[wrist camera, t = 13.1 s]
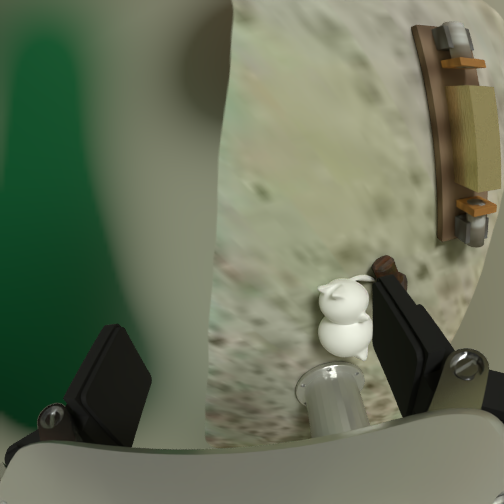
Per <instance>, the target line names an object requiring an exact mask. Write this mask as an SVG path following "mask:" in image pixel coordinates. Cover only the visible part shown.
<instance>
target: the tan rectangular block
mask: <svg viewBox="0 0 504 504" xmlns="http://www.w3.org/2000/svg"><path fill="white" fill-rule="evenodd" d="M444 87H445V93H446V99H447V106H448V112H449V120H450V128H451V138H452V149H453V163H454V182H456V183H458V184H460V185H462V186H465V187H467V188H469V189H471V190H473V191H475V192H478V193H479V192H484V191H490V190H496V189H501V153H500V136H499V124H498V114H497V106H496V99H495V92H494V87H487V86H472V85H464V86H444Z"/></svg>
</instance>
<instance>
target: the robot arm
mask: <svg viewBox="0 0 504 504" xmlns="http://www.w3.org/2000/svg"><path fill="white" fill-rule="evenodd" d="M372 291H373V333H372V342H373V347H374V350H375V352H376V354H377V357H378V359H379V361H380V364H381V366H382V368H383V371H384V373H385V375H386V378H387V380H388V383H389V385H390V387H391V390H392V392H393V395H394V397H395V400H396V402H397V405H398V407H399V410H400V412H401V415H402V417H403V418H399V419H395V420H391V421H387V422H384V423H380V424H376V425H372V426H370V423H369V420H368V417H367V413H366V410H365V407H364V404H363V400H362V397H361V394H360V391H361V390H362V388H363V386H364V382H365V380H364V375H363V372H362V371H361V369H360V368H359V367H357V366H356V365H354V364H352V363H348V362H331V363H326V364H323V365H320V366H317V367H315V368H313V369H311V370H310V371H308V372H307V373H306V374H304V375H303V376H302V377H301V379H300V380H299V381H298V383H297V386H296V395H297V399H298V400H299V402H300V403H301V404H303V405H304V406H306V407H307V411H308V418H309V424H310V431H311V439H305V440H299V441H292V442H285V443H277V444H269V445H260V446H249V447H237V448H220V449H149V448H132V444H133V441H134V438H135V434H136V431H137V428H138V424H139V421H140V418H141V414H142V411H143V408H144V405H145V402H146V398H147V395H148V392H149V389H150V386H151V381H152V379H151V375H150V373H149V371H148V370H147V368H146V366H145V364H144V363H143V361H142V359H141V357H140V356H139V354H138V352H137V350H136V349H135V347H134V345H133V343H132V341H131V339H130V338H129V335H128V334H127V332H126V330H125V328H123V327H121V326H120V325H119V324H112V325H105V326H104V327H103V329H102V330H101V332H100V334H99V335H98V337H97V339H96V340H95V342H94V344H93V345H92V347H91V349H90V351H89V352H88V354H87V356H86V358H85V359H84V361H83V363H82V365H81V366H80V368H79V370H78V372H77V374H76V375H75V377H74V379H73V381H72V383H71V385H70V387H69V388H68V390H67V392H66V394H65V396H64V398H63V399H64V400H65V401H66V403H67V405H66V407H65V406H64V405H63V404H60V403H55V404H51V405H49V406H47V407H46V408H45V409H44V410H43V411H42V412H41V413H40V415H39V417H38V420H37V421H38V422H37V425H38V429H37V430H36V431H34V432H33V433H31V434H29V435H27V436H26V437H24V438H22V439H21V440H19V441H18V442H16V443H14V444H13V445H11V446H10V447H9V448H8V449H7V452H6V454H5V464H4V463H3V462H2V463H1V464H0V504H504V373H500V372H497V371H492V370H489V363H488V361H487V359H486V357H485V356H484V355H483V354H482V353H480V352H479V351H477V350H474V349H469V348H463V349H458V350H456V351H455V350H454V349H453V347H452V346H451V344H450V343H449V341H448V340H447V339H446V337H445V336H444V334H443V333H442V331H441V330H440V329H439V327H438V326H437V324H436V323H435V322H434V320H433V319H432V318H431V316H430V315H429V313H428V312H427V311H426V309H425V308H424V307H423V306H422V305H420V304H418V305H416V304H415V302H414V301H413V300H412V298H411V297H410V296H409V294H408V293H407V292H406V290H405V289H404V288H403V286H402V285H401V284H400V282H399V281H398V280H397V278H396V277H395V276H394V275H393V274H391V275H386V276H382V277H378V278H377V282H374V283H373V285H372Z"/></svg>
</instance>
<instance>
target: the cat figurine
mask: <svg viewBox="0 0 504 504" xmlns="http://www.w3.org/2000/svg"><path fill="white" fill-rule="evenodd" d="M357 280H358V281H368V282H373V281H375V279H374V278H373V277H370V276H368V275H358V276H355V277H352V278H350V279H345V278H340V279H335V280H333V281H331V282H329V283H328V284H327V285H322V286H318V291H320V292H321V293H320V296H319V306H320V309H321V311H322V313H323V314H324V315H325V316H324V318H323V319H322V320H321V322H320V324H319V328H318V336H319V340H320V342H321V344H322V346H323V347H324V348H325V349H326V350H327V351H328V352H330V353H331V354H333V355H335V356H338V357H351V356H354V357H356V358H358V359H360V360H362V361H365V360H366V359H367V354H368V344H369V343H370V341H371V339H372V333H373V323H372V320H371V318H370V316H369V315H368V314H367V313H366V312H365V311H366V309H367V306H368V303H369V295H368V292H367V290H366V289H365V288H364V287H363V286H362V285H361V284H360V283H358V282H356V281H357Z"/></svg>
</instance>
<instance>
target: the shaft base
mask: <svg viewBox="0 0 504 504" xmlns="http://www.w3.org/2000/svg"><path fill="white" fill-rule="evenodd" d="M411 29H412V33H413V36H414V40H415V44H416V47H417V51H418V55H419V60H420V64H421V68H422V73H423V78H424V83H425V88H426V93H427V99H428V105H429V111H430V118H431V126H432V134H433V143H434V153H435V165H436V180H437V213H438V226H437V238H438V239H439V240H441V241H442V242H443V241H447V240H451V239H455V238H458V239H460V240H461V241H462V242H464V243H465V244H467V245H468V246H471V247H481V246H483V245H484V239H485V238H487V233H488V219H489V218H487V214H490V213H494V212H496V208H497V205H496V204H494V203H492V202H490V201H488V200H487V195H488V191H484V192H479V193H478V192H475V191H473V190H471V189H469V188H467V187H465V186H462V185H460V184H458V183H456V182H454V163H453V149H452V138H451V128H450V120H449V112H448V106H447V99H446V93H445V87H444V86H464V85H472V86H479V81H478V76H477V71H476V68H486V65H485V61H484V60H480V59H474V57H473V53H472V50H474V48H473V44H472V40H471V37H470V33H469V29H466V28H465V27H464V24H463V23H461V22H445V23H443V24H442V26H439V27H434V26H424V25H415V26H413V27H411Z"/></svg>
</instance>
